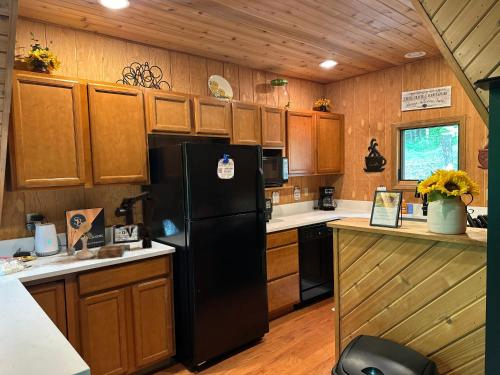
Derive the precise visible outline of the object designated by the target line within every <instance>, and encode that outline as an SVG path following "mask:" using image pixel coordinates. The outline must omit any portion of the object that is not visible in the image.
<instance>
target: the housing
mask: <svg viewBox="0 0 500 375" xmlns="http://www.w3.org/2000/svg"><path fill="white" fill-rule="evenodd" d="M122 245H123V244H115V245H102V246H101V247H100V248H99V249H98V250H97V259H98V260H102V259H113V258H114V259H115V258H122V256H121V249H120V248H121V247H122Z"/></svg>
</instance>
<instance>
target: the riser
mask: <svg viewBox="0 0 500 375" xmlns="http://www.w3.org/2000/svg"><path fill="white" fill-rule="evenodd" d="M126 251H127V252H128V251H131V245H130V244H125V252H126Z"/></svg>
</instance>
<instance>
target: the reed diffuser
mask: <svg viewBox="0 0 500 375" xmlns="http://www.w3.org/2000/svg"><path fill="white" fill-rule="evenodd" d="M62 229H63V232H64V234H65V237H66V240H67V242H68V247H67V250H66V253H67V255H68V256H69V255H71V256H72V255H75V254H76V255H77V254H78V253H79V252H80V251H77V252H76V248H75V247H73V240H74V237H75V233H76V231H74V233H73V231H71V232H70V231H67V233H68V235H70V233H71V236H70V237H68V236H67V234H66V232H65V228H62ZM67 229H69V227H68V226H67ZM76 229H77V227H75V228H74V230H76ZM69 232H70V233H69ZM70 238H71V239H70ZM70 241H71V243H70Z"/></svg>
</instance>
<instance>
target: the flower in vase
mask: <svg viewBox="0 0 500 375" xmlns="http://www.w3.org/2000/svg"><path fill="white" fill-rule="evenodd" d="M91 228H92V223H91V221H90V222H89V221H87V220H86V221H83V222H81V224H80V225H79V226H78V229H79V232H80V235H83V237H80V238H79V239H80V240H81V242H82V249H81V250H80V251H79V253H78V254H77V253H76V256H75V258H76V259H78V260H86V259H87V260H88V259H92V258H93V257H95V255H96V254H95V253H94V252H93V251H91V250H90V249H89V248H88V247H87V246H88V245H87V244H88V243H87V242H88V239H89V237H92V236H93V234H92V233H91V232H89V231H90V230H91ZM85 233H86V234H85Z"/></svg>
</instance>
